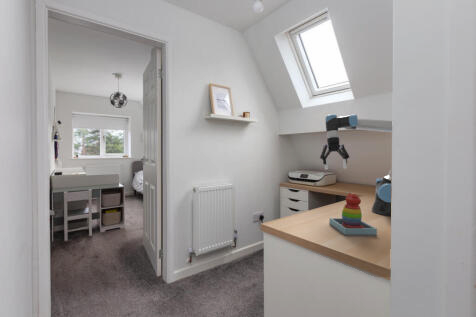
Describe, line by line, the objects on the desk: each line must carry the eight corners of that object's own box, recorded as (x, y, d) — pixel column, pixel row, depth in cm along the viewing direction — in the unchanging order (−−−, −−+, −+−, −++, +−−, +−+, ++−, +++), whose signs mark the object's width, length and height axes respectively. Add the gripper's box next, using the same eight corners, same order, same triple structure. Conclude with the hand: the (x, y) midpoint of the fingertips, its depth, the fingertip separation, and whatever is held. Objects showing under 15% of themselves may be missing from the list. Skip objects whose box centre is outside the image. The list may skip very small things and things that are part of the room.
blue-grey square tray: (357, 224, 129) (357, 218, 129) (376, 236, 112) (377, 229, 112) (329, 224, 129) (329, 218, 129) (344, 235, 112) (345, 228, 112)
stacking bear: (367, 231, 116) (368, 196, 115) (346, 231, 116) (348, 196, 115) (356, 224, 126) (357, 192, 125) (337, 223, 127) (339, 191, 126)
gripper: (346, 138, 161) (349, 169, 158) (313, 139, 156) (315, 170, 154) (353, 136, 153) (356, 168, 151) (318, 136, 149) (321, 169, 147)
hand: (335, 169), depth 152 cm, fingers open, 13 cm apart
